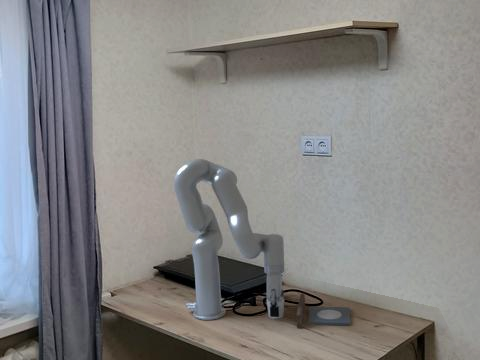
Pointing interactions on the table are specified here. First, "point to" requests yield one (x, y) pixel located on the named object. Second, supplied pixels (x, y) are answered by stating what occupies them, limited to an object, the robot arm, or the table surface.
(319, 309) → the mat
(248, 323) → the table surface
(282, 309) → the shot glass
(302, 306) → the divider wall
